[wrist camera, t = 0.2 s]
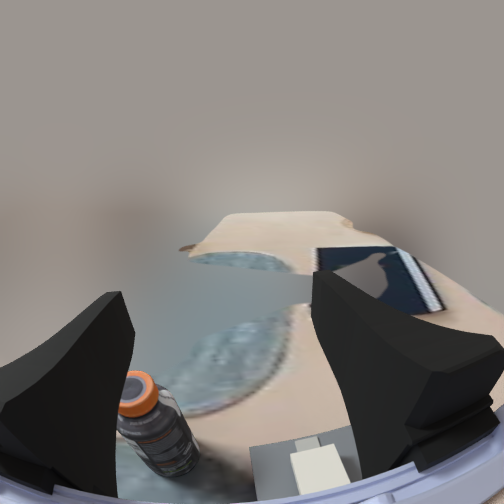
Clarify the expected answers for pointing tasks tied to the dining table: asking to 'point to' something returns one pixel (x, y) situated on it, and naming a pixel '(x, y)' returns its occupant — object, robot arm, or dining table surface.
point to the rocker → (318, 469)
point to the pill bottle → (156, 426)
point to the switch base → (280, 468)
